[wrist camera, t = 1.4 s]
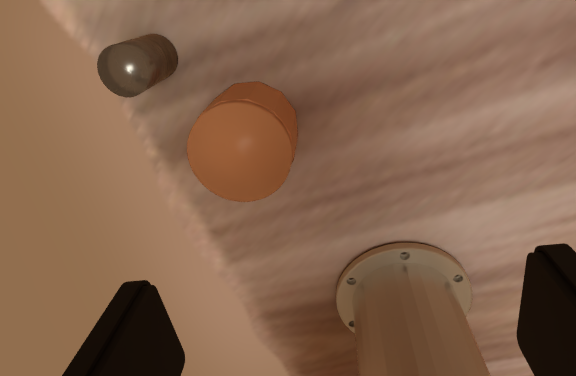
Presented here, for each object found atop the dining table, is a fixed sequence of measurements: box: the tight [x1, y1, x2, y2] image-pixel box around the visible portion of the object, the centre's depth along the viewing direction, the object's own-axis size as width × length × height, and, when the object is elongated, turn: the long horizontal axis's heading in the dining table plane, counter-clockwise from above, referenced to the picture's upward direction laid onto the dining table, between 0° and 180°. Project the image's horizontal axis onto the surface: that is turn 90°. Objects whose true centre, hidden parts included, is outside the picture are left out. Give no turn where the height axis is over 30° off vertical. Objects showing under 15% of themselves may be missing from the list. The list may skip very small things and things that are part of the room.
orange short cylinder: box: [187, 82, 298, 202], centre depth 28 cm, size 7×7×6 cm
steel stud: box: [97, 34, 178, 97], centre depth 27 cm, size 3×3×6 cm
